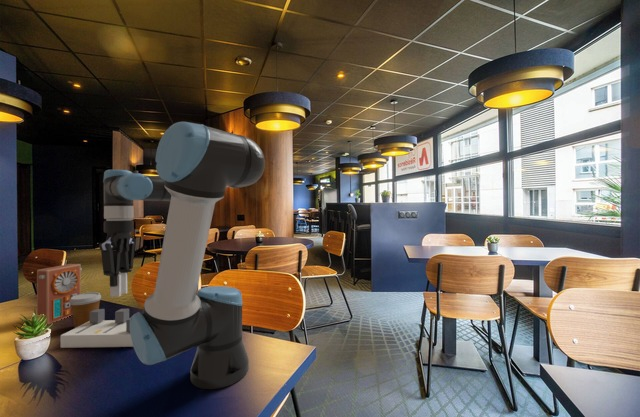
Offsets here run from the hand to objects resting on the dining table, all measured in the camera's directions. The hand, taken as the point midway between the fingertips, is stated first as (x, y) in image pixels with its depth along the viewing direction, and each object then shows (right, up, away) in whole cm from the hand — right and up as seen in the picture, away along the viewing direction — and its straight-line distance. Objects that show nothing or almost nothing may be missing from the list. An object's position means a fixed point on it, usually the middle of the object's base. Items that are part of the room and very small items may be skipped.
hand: (119, 294), depth 85 cm
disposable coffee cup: (-27, -19, +20) cm, 39 cm away
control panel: (-46, -19, +28) cm, 57 cm away
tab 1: (-18, -14, +14) cm, 27 cm away
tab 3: (0, -14, +7) cm, 16 cm away
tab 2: (-9, -14, +14) cm, 22 cm away
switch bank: (-9, -19, +10) cm, 23 cm away
